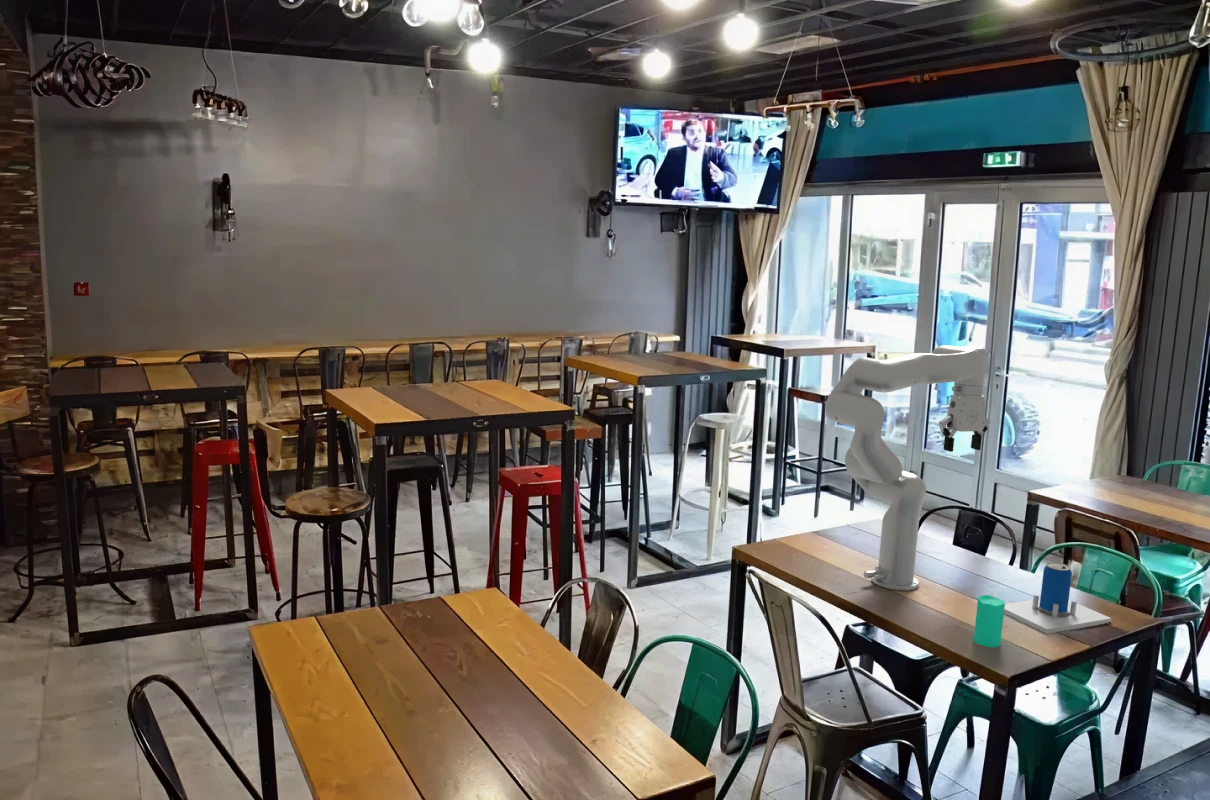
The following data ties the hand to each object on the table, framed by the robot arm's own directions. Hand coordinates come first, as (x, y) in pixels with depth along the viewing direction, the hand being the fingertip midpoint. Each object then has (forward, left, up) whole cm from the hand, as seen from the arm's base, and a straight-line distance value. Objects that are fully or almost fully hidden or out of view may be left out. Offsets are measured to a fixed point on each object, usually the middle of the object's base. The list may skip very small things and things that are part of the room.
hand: (961, 450), depth 266 cm
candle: (-27, -42, -36) cm, 62 cm away
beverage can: (+2, -35, -35) cm, 49 cm away
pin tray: (+2, -35, -36) cm, 50 cm away
